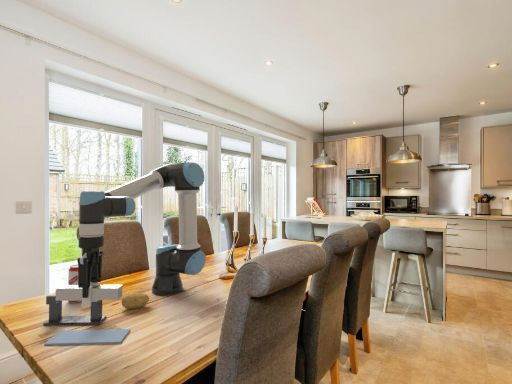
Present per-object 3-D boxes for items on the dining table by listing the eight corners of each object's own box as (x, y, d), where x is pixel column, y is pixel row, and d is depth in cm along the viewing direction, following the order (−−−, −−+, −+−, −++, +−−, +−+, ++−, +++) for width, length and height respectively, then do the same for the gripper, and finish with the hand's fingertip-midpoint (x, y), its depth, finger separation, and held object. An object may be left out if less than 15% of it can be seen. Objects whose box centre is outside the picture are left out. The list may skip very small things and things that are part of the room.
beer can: (76, 304, 130) (77, 268, 130) (64, 302, 131) (65, 267, 131) (87, 299, 136) (87, 264, 136) (75, 298, 137) (76, 263, 137)
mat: (130, 330, 106) (130, 329, 106) (120, 343, 97) (120, 341, 97) (60, 332, 104) (60, 330, 104) (44, 345, 95) (44, 343, 95)
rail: (122, 295, 103) (122, 284, 103) (117, 300, 99) (118, 288, 99) (62, 296, 101) (62, 285, 101) (55, 300, 97) (55, 288, 97)
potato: (122, 306, 128) (122, 291, 128) (149, 303, 132) (149, 289, 132) (120, 312, 122) (120, 297, 122) (148, 309, 125) (148, 294, 125)
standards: (106, 317, 116) (107, 289, 117) (99, 325, 110) (99, 295, 110) (53, 318, 115) (54, 290, 115) (42, 326, 108) (43, 296, 108)
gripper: (91, 232, 109) (90, 295, 108) (66, 239, 92) (64, 314, 91) (112, 232, 109) (111, 295, 109) (91, 239, 92) (89, 313, 92)
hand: (89, 303), depth 100 cm, fingers closed on rail, 4 cm apart
